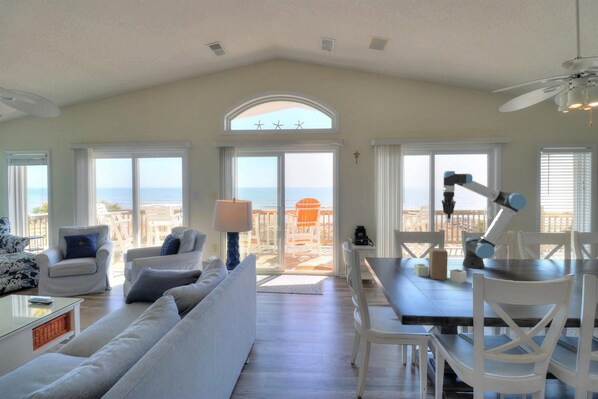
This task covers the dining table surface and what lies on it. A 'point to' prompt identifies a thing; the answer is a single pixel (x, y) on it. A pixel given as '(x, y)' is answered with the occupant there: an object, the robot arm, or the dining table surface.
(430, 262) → the wooden block
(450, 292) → the dining table surface
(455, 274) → the cream labelled cube
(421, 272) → the sage labelled cube
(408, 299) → the dining table surface
